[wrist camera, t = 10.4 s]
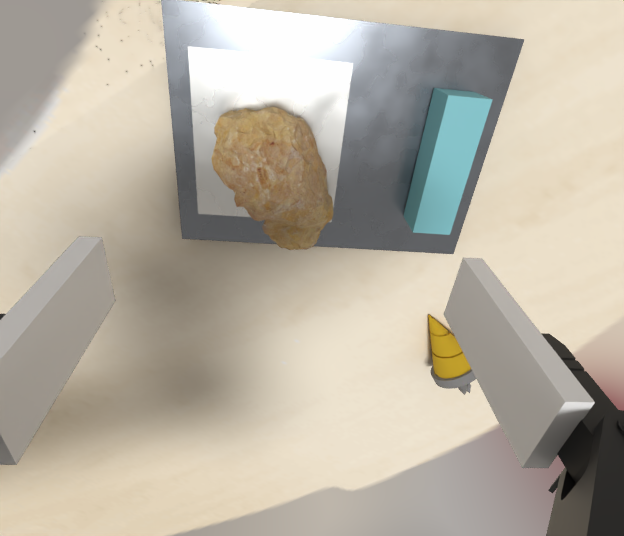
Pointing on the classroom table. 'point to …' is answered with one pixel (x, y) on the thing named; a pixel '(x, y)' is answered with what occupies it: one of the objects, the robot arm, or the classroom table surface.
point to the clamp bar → (445, 159)
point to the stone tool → (274, 173)
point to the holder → (323, 111)
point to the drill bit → (448, 359)
